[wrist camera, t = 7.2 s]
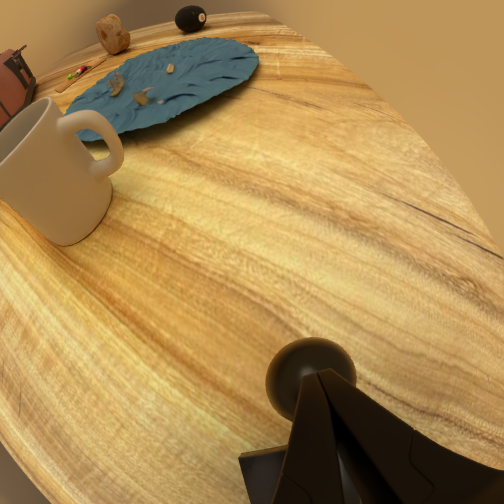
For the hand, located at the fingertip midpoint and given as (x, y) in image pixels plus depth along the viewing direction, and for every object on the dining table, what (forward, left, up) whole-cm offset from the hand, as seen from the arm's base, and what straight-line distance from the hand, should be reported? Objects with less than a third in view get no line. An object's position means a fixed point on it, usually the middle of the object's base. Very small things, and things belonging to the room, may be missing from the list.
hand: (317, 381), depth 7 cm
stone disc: (+49, +45, -9) cm, 67 cm away
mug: (+10, +21, -9) cm, 25 cm away
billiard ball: (+53, +28, -9) cm, 61 cm away
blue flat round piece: (+30, +25, -9) cm, 40 cm away
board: (+42, +52, -9) cm, 68 cm away
